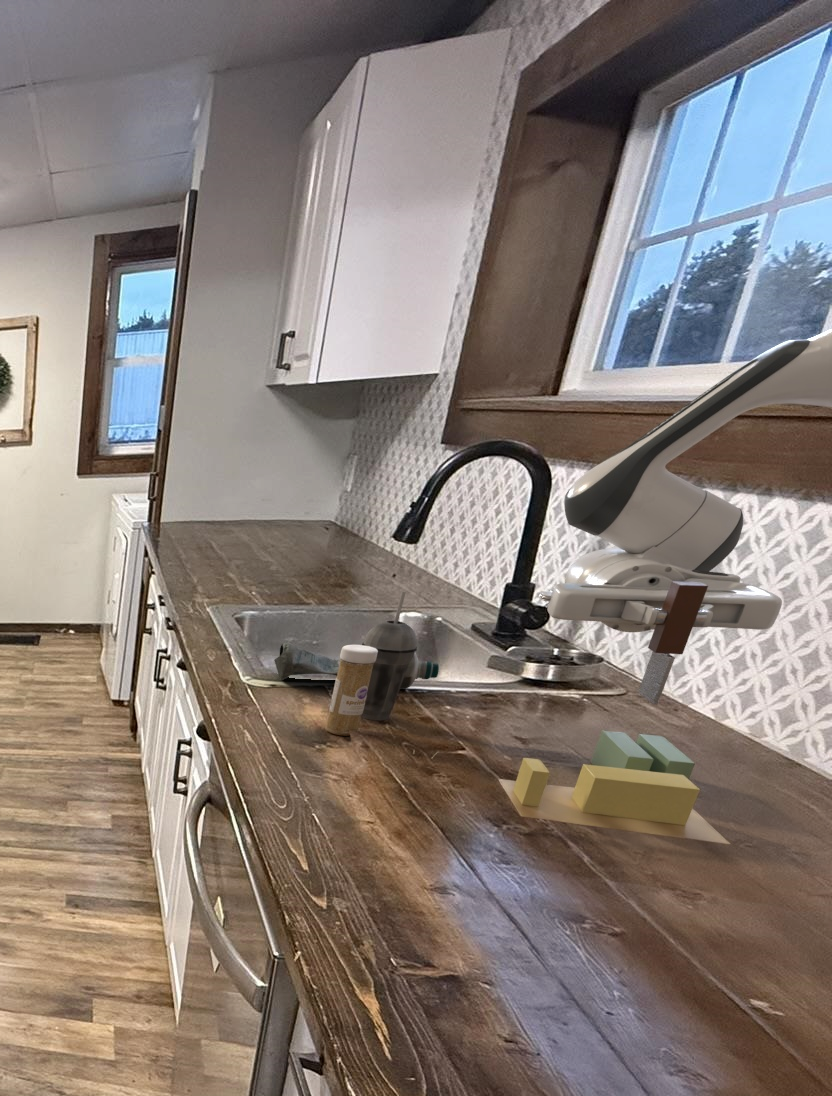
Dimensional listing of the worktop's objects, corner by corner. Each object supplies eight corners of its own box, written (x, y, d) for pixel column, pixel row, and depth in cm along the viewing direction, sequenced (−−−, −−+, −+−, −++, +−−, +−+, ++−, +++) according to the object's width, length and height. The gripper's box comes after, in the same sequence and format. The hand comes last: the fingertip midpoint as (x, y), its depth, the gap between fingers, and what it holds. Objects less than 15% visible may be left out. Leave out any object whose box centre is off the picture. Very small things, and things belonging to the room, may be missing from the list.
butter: (669, 809, 97) (683, 774, 95) (685, 825, 93) (700, 789, 91) (571, 797, 101) (583, 763, 99) (582, 812, 97) (595, 777, 95)
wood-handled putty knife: (652, 693, 101) (694, 580, 96) (668, 705, 97) (713, 587, 92) (626, 691, 102) (667, 579, 97) (641, 703, 98) (684, 586, 93)
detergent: (269, 685, 150) (438, 699, 138) (276, 646, 148) (448, 657, 136) (272, 672, 161) (429, 684, 148) (278, 636, 158) (438, 645, 146)
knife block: (645, 778, 108) (662, 735, 106) (677, 808, 100) (695, 763, 98) (586, 771, 111) (601, 730, 109) (612, 800, 103) (629, 756, 100)
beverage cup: (340, 716, 134) (368, 594, 126) (353, 705, 139) (380, 586, 131) (392, 726, 129) (424, 599, 121) (404, 714, 134) (435, 591, 126)
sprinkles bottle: (348, 738, 125) (368, 652, 120) (318, 730, 129) (336, 646, 123) (364, 732, 127) (384, 647, 122) (334, 724, 131) (352, 642, 126)
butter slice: (528, 792, 102) (539, 759, 101) (538, 806, 99) (550, 772, 97) (512, 790, 103) (523, 757, 101) (521, 804, 99) (533, 770, 98)
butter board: (680, 812, 99) (685, 800, 99) (725, 856, 90) (731, 844, 89) (494, 789, 107) (497, 778, 106) (517, 827, 97) (521, 816, 97)
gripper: (541, 568, 110) (573, 587, 98) (754, 574, 101) (816, 596, 89) (527, 615, 112) (557, 639, 101) (733, 625, 103) (791, 652, 92)
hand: (680, 618), depth 95 cm, fingers closed on wood-handled putty knife, 2 cm apart
